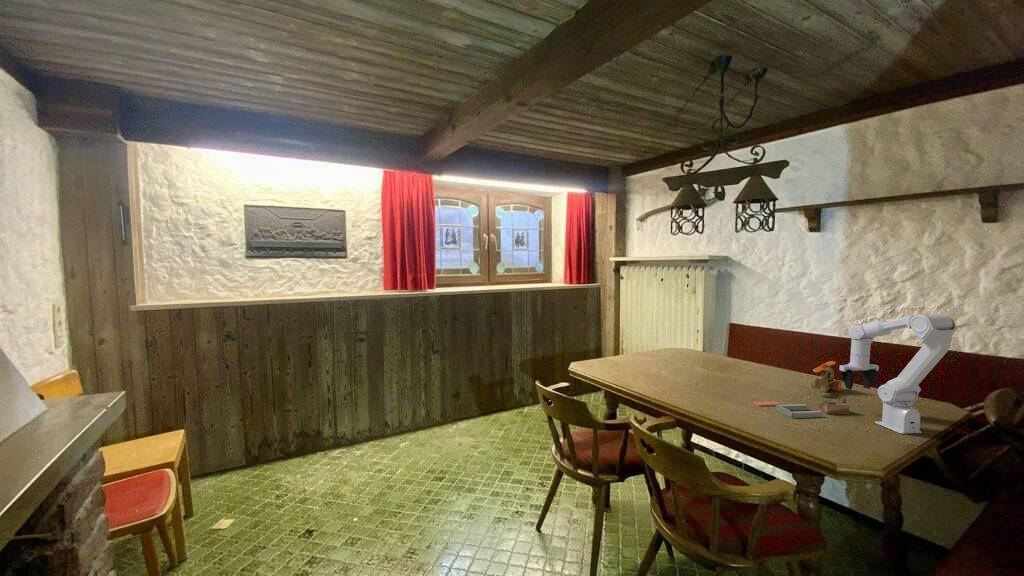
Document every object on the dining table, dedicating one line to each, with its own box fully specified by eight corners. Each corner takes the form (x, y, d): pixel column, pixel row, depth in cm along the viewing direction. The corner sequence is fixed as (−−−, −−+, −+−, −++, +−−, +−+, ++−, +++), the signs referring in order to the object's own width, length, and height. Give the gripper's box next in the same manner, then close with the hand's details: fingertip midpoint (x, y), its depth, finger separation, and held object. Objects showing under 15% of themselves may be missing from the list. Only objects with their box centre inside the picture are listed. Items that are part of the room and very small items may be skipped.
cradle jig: (821, 417, 154) (822, 412, 154) (791, 418, 153) (791, 413, 153) (804, 408, 162) (804, 404, 162) (775, 409, 161) (776, 405, 161)
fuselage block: (848, 414, 156) (849, 400, 156) (826, 415, 156) (827, 401, 156) (840, 410, 160) (840, 397, 160) (818, 411, 160) (819, 397, 160)
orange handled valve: (842, 390, 184) (843, 361, 183) (824, 399, 172) (825, 368, 171) (821, 385, 191) (822, 357, 190) (802, 394, 179) (803, 364, 178)
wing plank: (776, 404, 169) (776, 401, 169) (782, 407, 166) (782, 404, 166) (753, 404, 169) (753, 401, 169) (758, 407, 165) (758, 404, 165)
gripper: (867, 351, 161) (865, 384, 163) (833, 352, 161) (831, 385, 162) (885, 356, 154) (882, 390, 156) (849, 357, 154) (847, 391, 155)
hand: (857, 388), depth 158 cm, fingers open, 7 cm apart
